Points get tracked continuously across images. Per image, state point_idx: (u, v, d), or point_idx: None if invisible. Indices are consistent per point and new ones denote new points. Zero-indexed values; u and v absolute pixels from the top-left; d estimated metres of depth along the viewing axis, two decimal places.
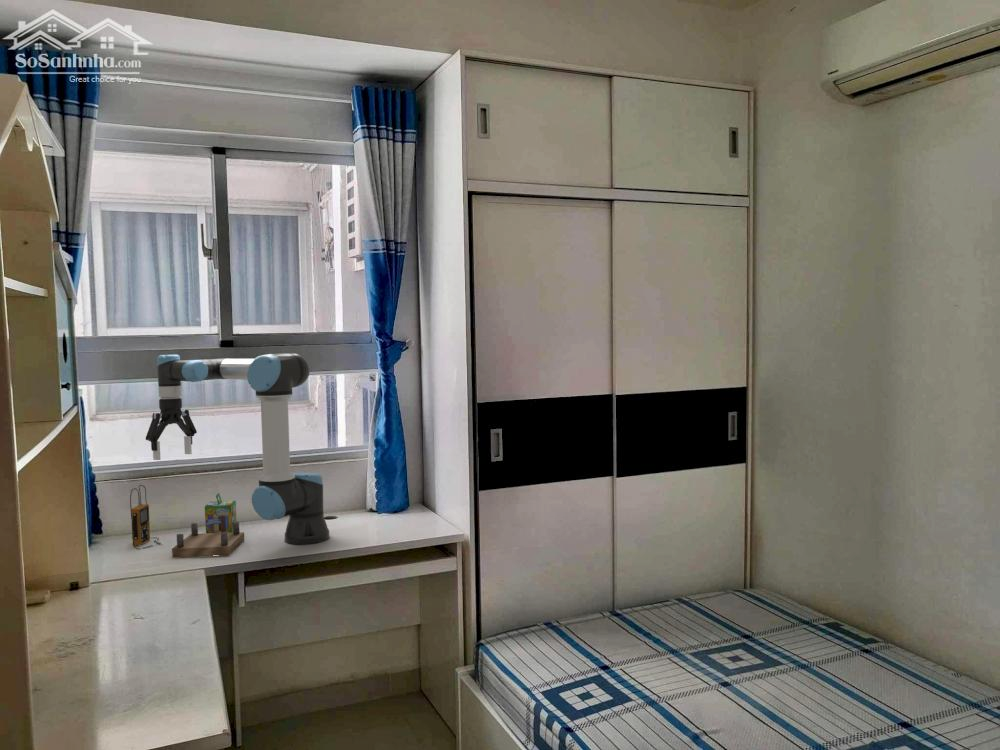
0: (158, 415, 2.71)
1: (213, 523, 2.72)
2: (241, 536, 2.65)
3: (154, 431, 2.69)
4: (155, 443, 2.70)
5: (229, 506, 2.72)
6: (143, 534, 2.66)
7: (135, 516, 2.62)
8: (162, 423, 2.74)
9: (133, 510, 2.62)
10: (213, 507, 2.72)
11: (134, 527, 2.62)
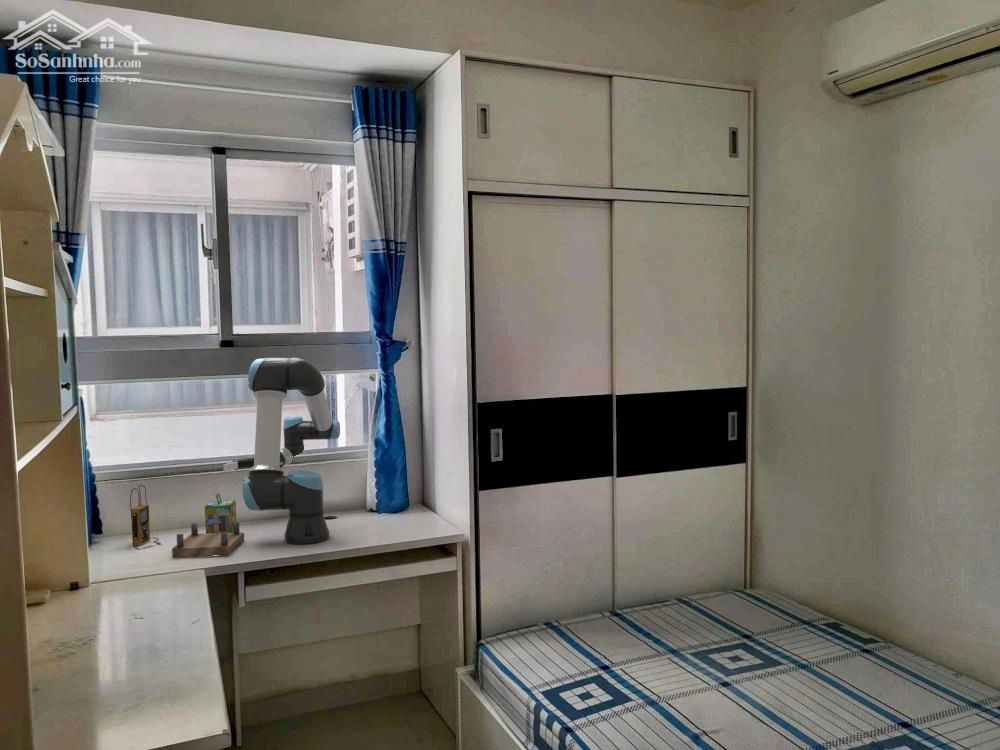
0: None
1: (213, 523, 2.72)
2: (241, 536, 2.65)
3: None
4: None
5: (229, 506, 2.72)
6: (143, 534, 2.66)
7: (135, 516, 2.62)
8: None
9: (133, 510, 2.62)
10: (213, 507, 2.72)
11: (134, 527, 2.62)
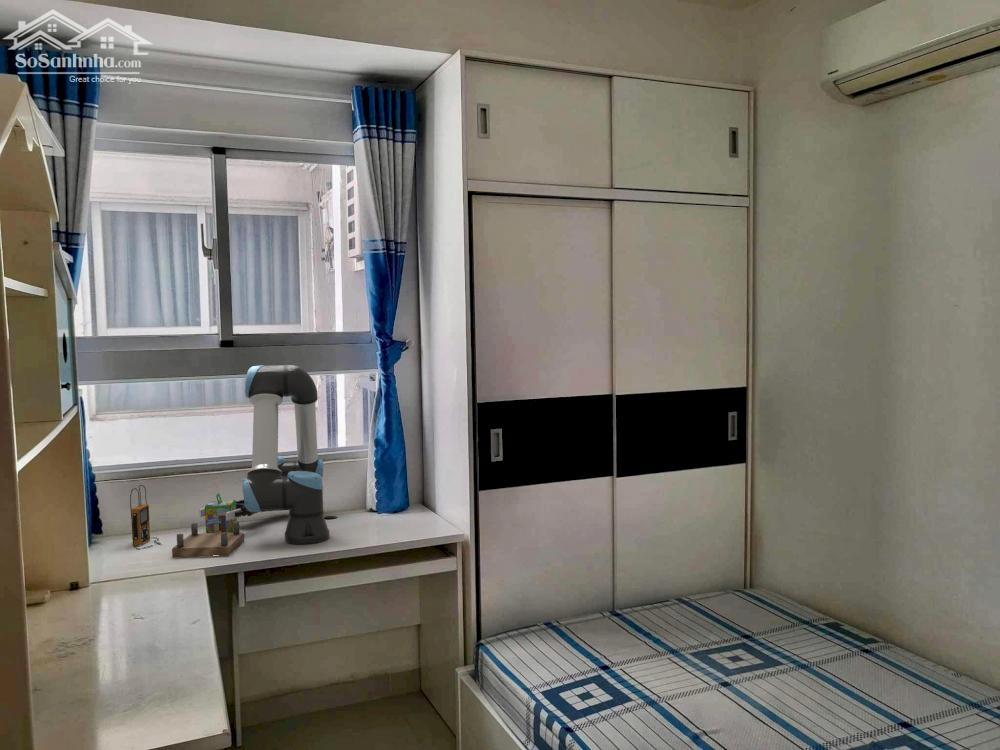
0: None
1: (213, 523, 2.72)
2: (241, 536, 2.65)
3: None
4: None
5: (229, 506, 2.72)
6: (143, 534, 2.66)
7: (135, 516, 2.62)
8: None
9: (133, 510, 2.62)
10: (213, 507, 2.72)
11: (134, 527, 2.62)
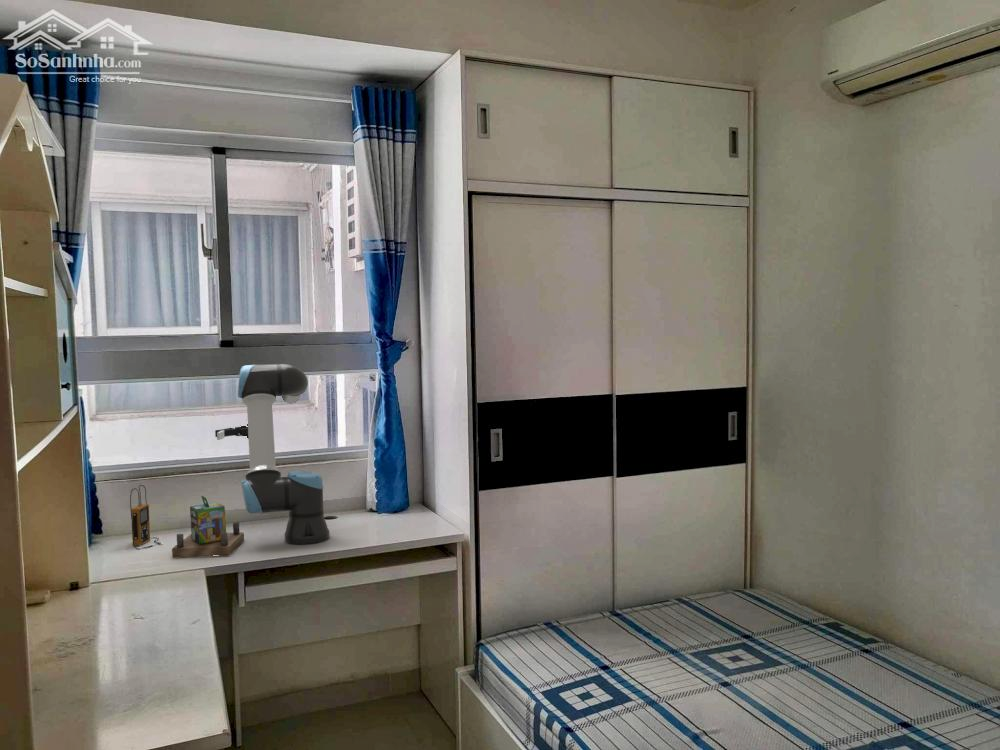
0: None
1: (206, 528, 2.54)
2: (241, 536, 2.65)
3: (222, 429, 2.95)
4: None
5: (223, 507, 2.57)
6: (143, 534, 2.66)
7: (135, 516, 2.62)
8: None
9: (133, 510, 2.62)
10: (206, 510, 2.54)
11: (134, 527, 2.62)
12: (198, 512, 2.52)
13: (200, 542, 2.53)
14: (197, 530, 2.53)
